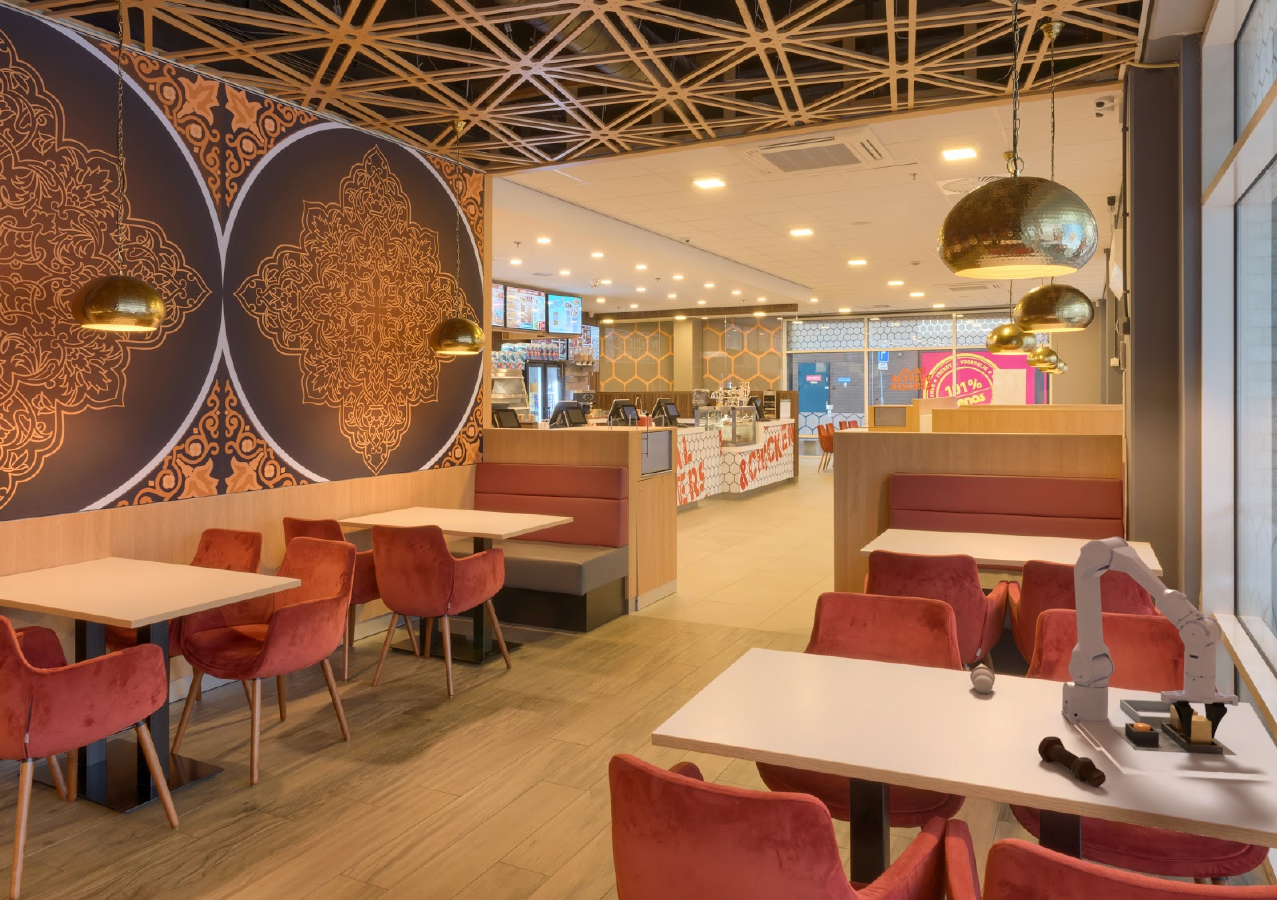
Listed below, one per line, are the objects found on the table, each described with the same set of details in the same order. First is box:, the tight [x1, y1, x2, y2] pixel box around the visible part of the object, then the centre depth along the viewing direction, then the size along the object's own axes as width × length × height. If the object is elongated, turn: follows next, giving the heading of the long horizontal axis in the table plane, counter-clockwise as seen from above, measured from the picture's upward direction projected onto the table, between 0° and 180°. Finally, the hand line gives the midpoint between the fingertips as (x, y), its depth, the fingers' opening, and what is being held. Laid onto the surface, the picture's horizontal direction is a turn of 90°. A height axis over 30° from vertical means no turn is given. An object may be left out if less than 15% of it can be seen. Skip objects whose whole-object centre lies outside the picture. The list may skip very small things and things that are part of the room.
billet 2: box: [1183, 714, 1212, 745], centre depth 190 cm, size 4×4×6 cm
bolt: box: [1037, 735, 1107, 787], centre depth 179 cm, size 6×5×15 cm
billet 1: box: [1169, 705, 1199, 733], centre depth 196 cm, size 4×4×6 cm
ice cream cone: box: [969, 663, 996, 695], centre depth 234 cm, size 6×6×15 cm
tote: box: [1119, 698, 1173, 727], centre depth 207 cm, size 12×12×3 cm
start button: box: [1134, 722, 1150, 731], centre depth 194 cm, size 3×3×2 cm
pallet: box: [1110, 722, 1237, 756], centre depth 193 cm, size 20×14×4 cm
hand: (1198, 736), depth 189 cm, fingers closed on billet 2, 4 cm apart
